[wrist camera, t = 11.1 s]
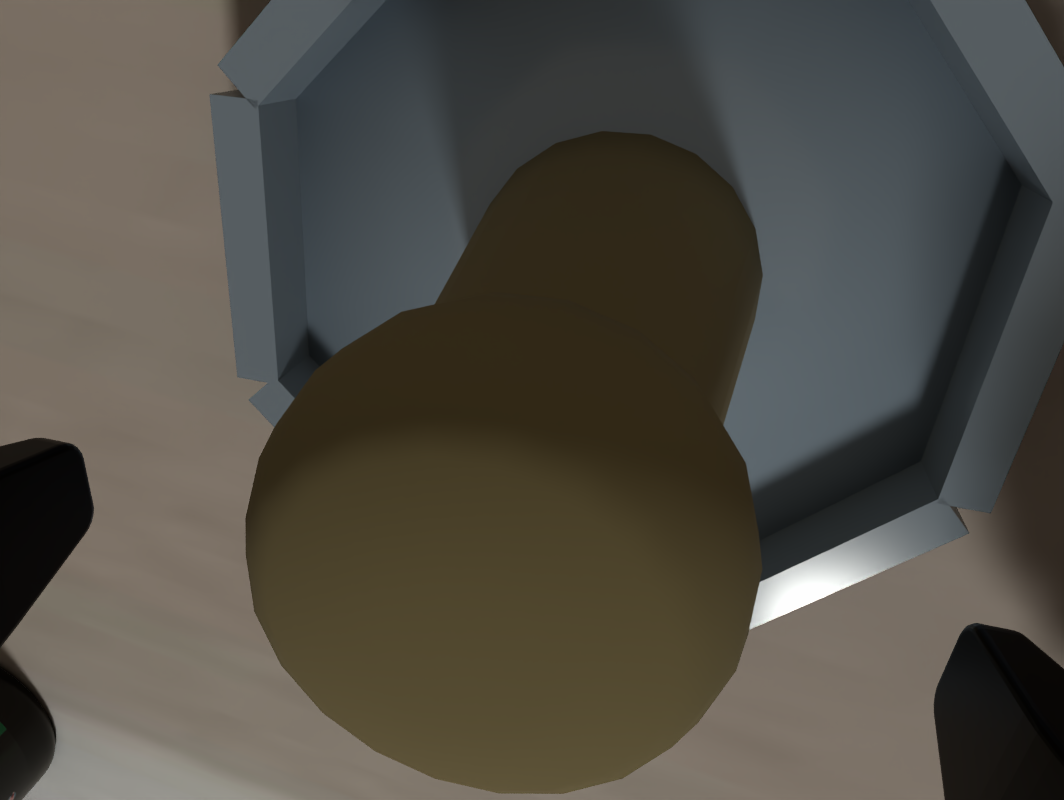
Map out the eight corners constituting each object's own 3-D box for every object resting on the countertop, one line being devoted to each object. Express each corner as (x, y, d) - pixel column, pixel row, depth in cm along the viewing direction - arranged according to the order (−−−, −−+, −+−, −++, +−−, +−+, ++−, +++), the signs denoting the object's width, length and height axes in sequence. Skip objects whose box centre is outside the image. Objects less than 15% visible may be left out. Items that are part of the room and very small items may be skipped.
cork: (418, 260, 17) (20, 576, 7) (633, 59, 14) (451, 141, 5) (596, 457, 18) (453, 951, 9) (825, 304, 16) (992, 772, 6)
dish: (890, 620, 20) (911, 696, 17) (301, 500, 22) (254, 553, 20) (1186, -146, 12) (1287, -180, 10) (257, -198, 15) (177, -236, 13)
